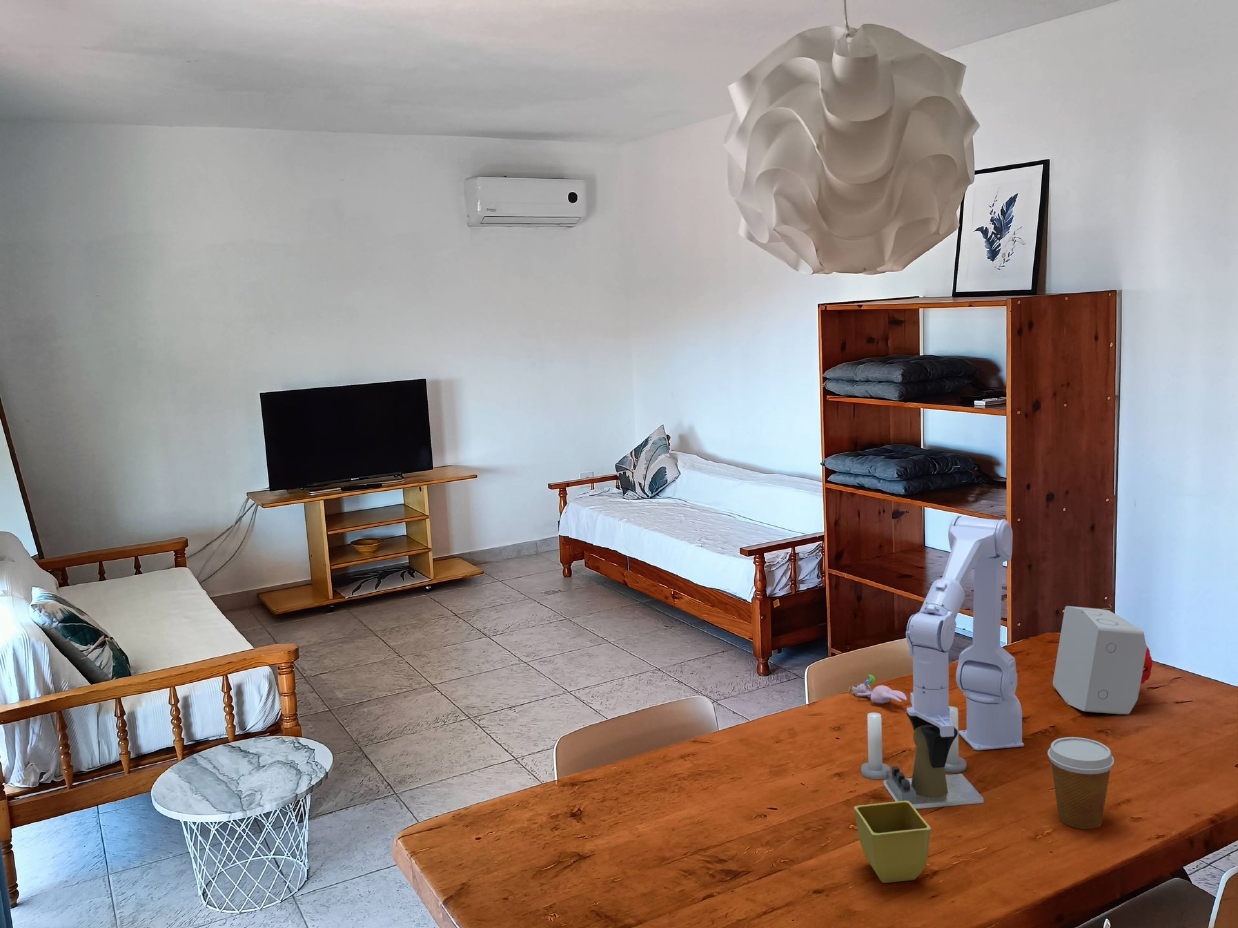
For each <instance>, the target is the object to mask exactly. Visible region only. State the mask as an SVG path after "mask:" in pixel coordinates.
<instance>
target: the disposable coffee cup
mask: <svg viewBox="0 0 1238 928" xmlns="http://www.w3.org/2000/svg"><path fill="white" fill-rule="evenodd" d="M1047 755H1048V758H1049V760H1050V762H1051V771H1052V777H1053V778H1052V779H1053V785H1054V792H1055V793H1054V794H1055V801H1056V807H1057V809H1056V810H1057V815H1058V819H1059V820H1060V822H1062V823H1063V824H1065V825H1067V826H1069V827H1071V828H1076V829H1081V830H1092V829H1096V828H1099V827H1100V826H1101V825H1102V823H1103V817H1104V816H1103V815H1104V811H1105V805H1106V804H1105V803H1106V797H1107V791H1108V785H1109V779H1110V773H1111V769H1112V767H1113V766H1114V764H1115V758H1114V756H1113V755H1112V753H1111V749H1110V748H1109V747H1108V746H1107V745H1105V744H1103V743H1101V742H1100V741H1097V740H1094V739H1090V738H1084V737H1078V736H1077V737H1075V736H1071V737H1070V736H1069V737H1068V736H1067V737H1060V738H1057V739H1055V740H1053V741H1052V742H1051V744H1050V748H1049V749H1048V750H1047Z"/></svg>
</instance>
